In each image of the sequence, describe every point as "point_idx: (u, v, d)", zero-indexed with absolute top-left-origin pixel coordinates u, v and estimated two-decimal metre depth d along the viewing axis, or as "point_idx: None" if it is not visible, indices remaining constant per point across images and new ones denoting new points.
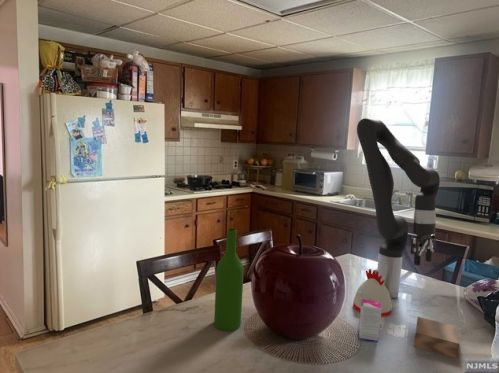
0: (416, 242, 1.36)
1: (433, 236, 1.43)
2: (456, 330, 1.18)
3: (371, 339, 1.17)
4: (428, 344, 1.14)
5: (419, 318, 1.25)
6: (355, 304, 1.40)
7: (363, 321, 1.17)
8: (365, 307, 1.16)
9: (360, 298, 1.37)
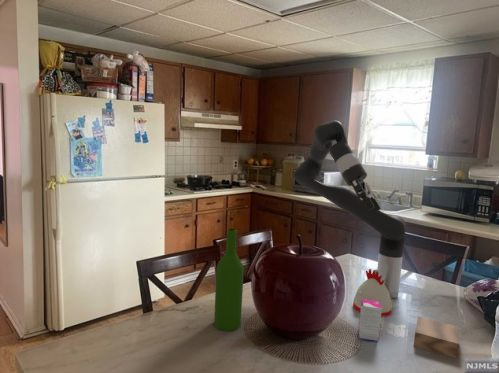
0: (357, 182, 1.20)
1: None
2: (456, 330, 1.18)
3: (371, 339, 1.17)
4: (428, 344, 1.14)
5: (419, 318, 1.25)
6: (355, 304, 1.40)
7: (363, 321, 1.17)
8: (365, 307, 1.16)
9: (360, 298, 1.37)
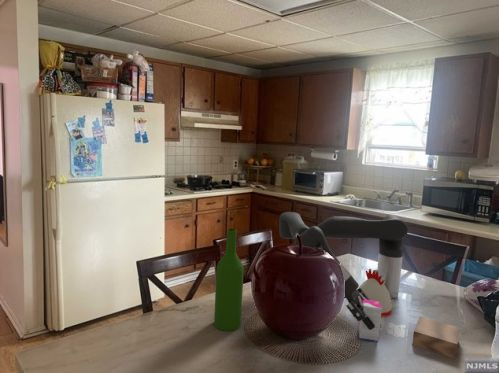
0: (353, 306, 1.14)
1: (359, 290, 1.26)
2: (457, 331, 1.17)
3: (371, 339, 1.17)
4: (426, 343, 1.14)
5: (421, 318, 1.25)
6: None
7: None
8: (365, 306, 1.16)
9: None
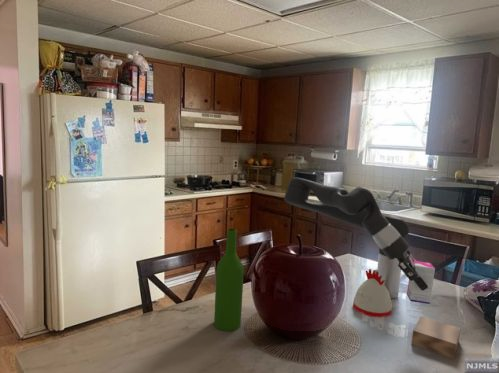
0: (406, 265, 1.10)
1: (408, 252, 1.21)
2: (457, 331, 1.17)
3: (423, 301, 1.12)
4: (425, 343, 1.14)
5: (422, 318, 1.25)
6: (355, 304, 1.40)
7: None
8: (417, 266, 1.12)
9: (360, 298, 1.37)
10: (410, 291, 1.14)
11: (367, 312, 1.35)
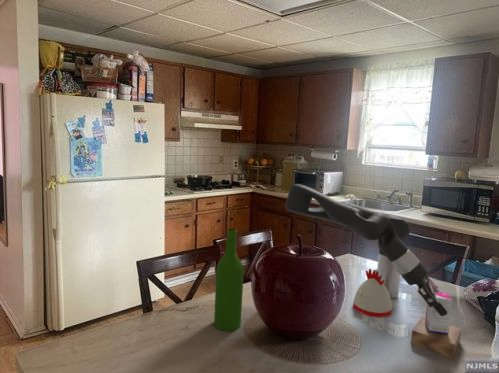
0: (426, 291, 1.12)
1: (425, 276, 1.23)
2: (458, 332, 1.16)
3: (441, 331, 1.15)
4: (424, 343, 1.15)
5: (423, 318, 1.25)
6: (355, 304, 1.40)
7: (432, 313, 1.15)
8: None
9: (360, 298, 1.37)
10: (428, 322, 1.16)
11: (367, 312, 1.35)
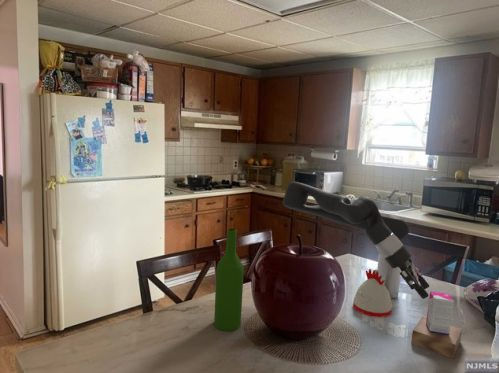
0: (407, 273, 1.13)
1: (409, 260, 1.24)
2: (458, 332, 1.16)
3: (442, 332, 1.15)
4: (425, 343, 1.15)
5: (423, 318, 1.25)
6: (355, 304, 1.40)
7: (434, 314, 1.14)
8: (436, 299, 1.14)
9: (360, 298, 1.37)
10: (429, 322, 1.16)
11: (367, 312, 1.35)
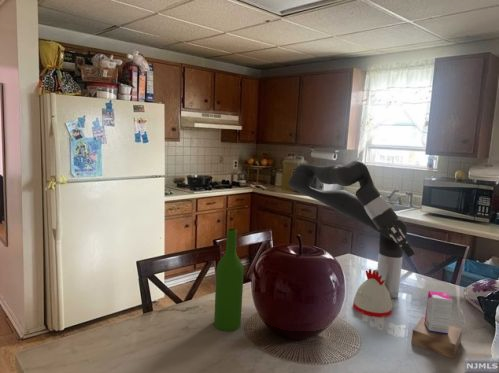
0: (396, 229, 1.15)
1: None
2: (458, 332, 1.16)
3: (441, 331, 1.15)
4: (425, 343, 1.15)
5: (423, 318, 1.25)
6: (355, 304, 1.40)
7: (433, 313, 1.15)
8: (435, 298, 1.14)
9: (360, 298, 1.37)
10: (428, 322, 1.17)
11: (367, 312, 1.35)
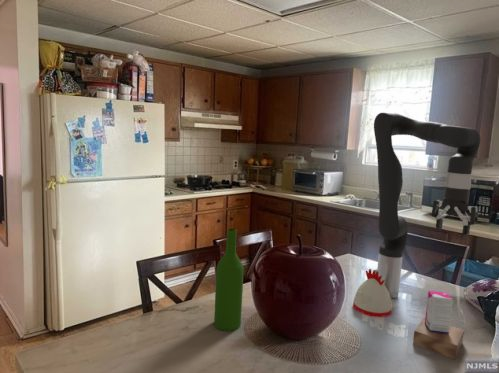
0: (477, 210, 1.21)
1: None
2: (460, 333, 1.16)
3: (442, 331, 1.15)
4: (426, 343, 1.14)
5: None
6: (355, 304, 1.40)
7: (434, 312, 1.15)
8: (436, 298, 1.15)
9: (360, 298, 1.37)
10: (429, 321, 1.17)
11: (367, 312, 1.35)
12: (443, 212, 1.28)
